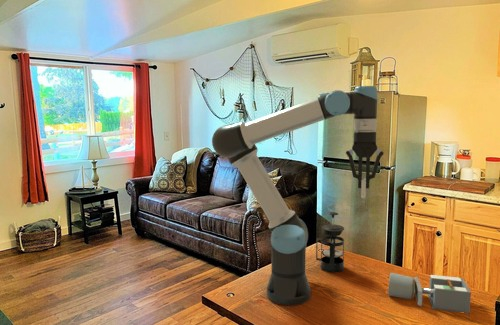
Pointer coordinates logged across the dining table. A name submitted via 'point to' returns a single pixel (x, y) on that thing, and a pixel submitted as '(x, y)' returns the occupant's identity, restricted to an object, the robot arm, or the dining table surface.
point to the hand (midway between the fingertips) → (363, 197)
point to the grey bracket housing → (449, 294)
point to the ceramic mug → (401, 286)
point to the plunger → (424, 290)
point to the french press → (331, 248)
